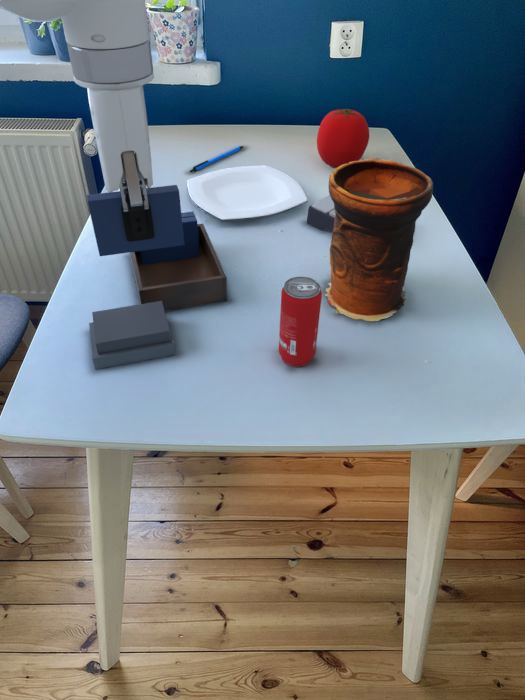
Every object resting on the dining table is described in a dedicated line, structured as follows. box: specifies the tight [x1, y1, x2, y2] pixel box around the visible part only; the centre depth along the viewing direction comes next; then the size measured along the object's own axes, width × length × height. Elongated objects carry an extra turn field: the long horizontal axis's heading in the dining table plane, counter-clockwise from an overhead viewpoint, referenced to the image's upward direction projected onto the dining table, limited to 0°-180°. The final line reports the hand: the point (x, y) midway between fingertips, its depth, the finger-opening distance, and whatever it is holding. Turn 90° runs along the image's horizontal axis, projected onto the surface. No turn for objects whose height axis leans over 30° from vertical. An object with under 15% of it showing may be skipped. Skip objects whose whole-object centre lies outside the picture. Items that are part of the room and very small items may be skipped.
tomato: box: [316, 108, 370, 169], centre depth 122 cm, size 12×12×13 cm
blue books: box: [140, 211, 200, 265], centre depth 92 cm, size 10×3×7 cm, turn 107°
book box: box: [128, 223, 228, 312], centre depth 89 cm, size 13×17×5 cm
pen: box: [189, 145, 245, 173], centre depth 127 cm, size 1×19×1 cm, turn 142°
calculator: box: [306, 194, 336, 233], centre depth 103 cm, size 11×4×15 cm
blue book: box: [86, 184, 184, 257], centre depth 62 cm, size 10×2×7 cm, turn 106°
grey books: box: [88, 301, 176, 370], centre depth 77 cm, size 11×8×4 cm
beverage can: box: [278, 276, 323, 368], centre depth 72 cm, size 5×5×12 cm
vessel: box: [324, 157, 434, 322], centre depth 81 cm, size 14×14×20 cm
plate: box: [186, 164, 309, 221], centre depth 112 cm, size 23×23×2 cm
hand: (139, 233), depth 63 cm, fingers closed on blue book, 1 cm apart
